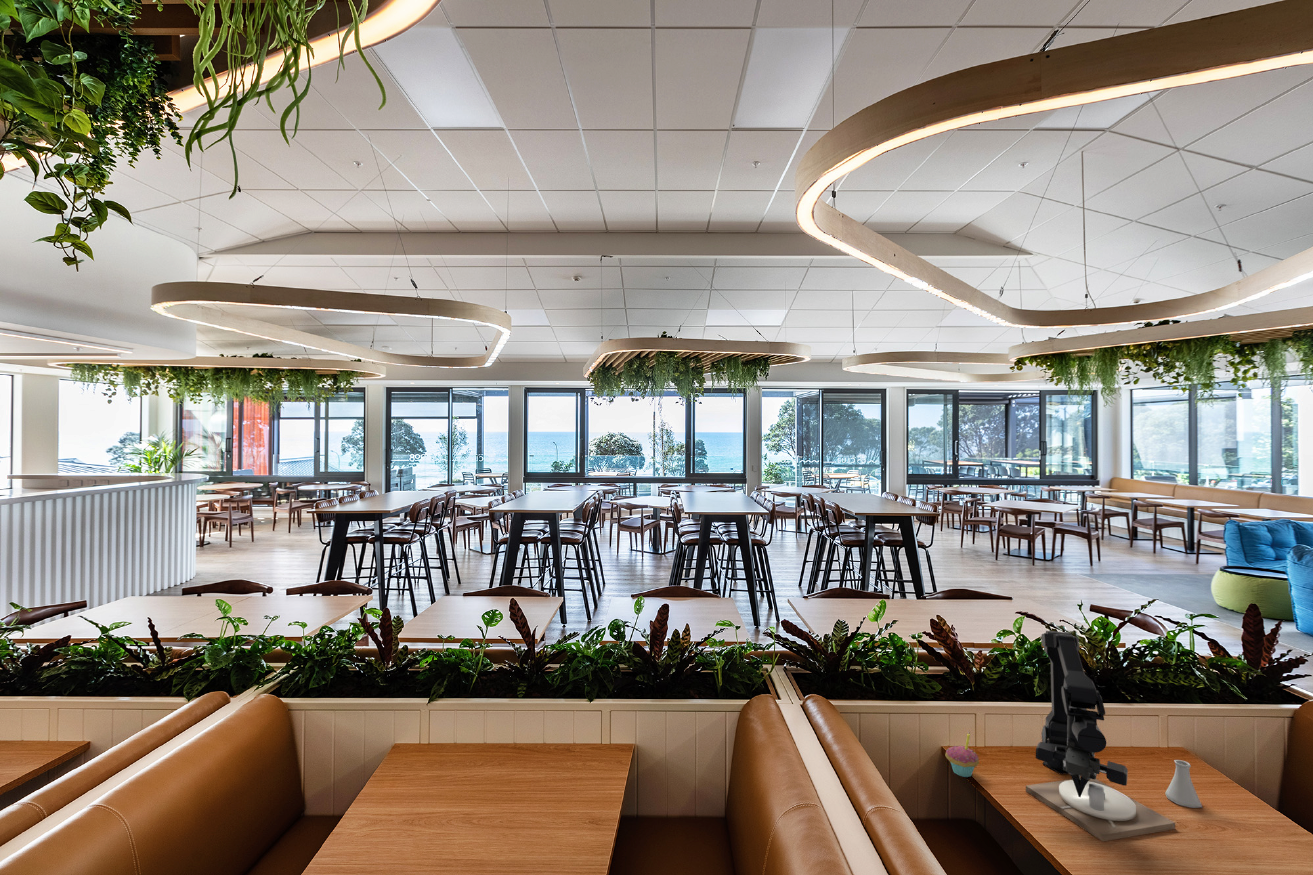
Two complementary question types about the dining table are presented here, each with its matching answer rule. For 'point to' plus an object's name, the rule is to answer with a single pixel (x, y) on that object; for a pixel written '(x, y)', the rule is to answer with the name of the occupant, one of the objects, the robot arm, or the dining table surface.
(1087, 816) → the dial base
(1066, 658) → the robot arm
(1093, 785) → the dial
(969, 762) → the cupcake
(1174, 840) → the dining table surface
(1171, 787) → the flask
